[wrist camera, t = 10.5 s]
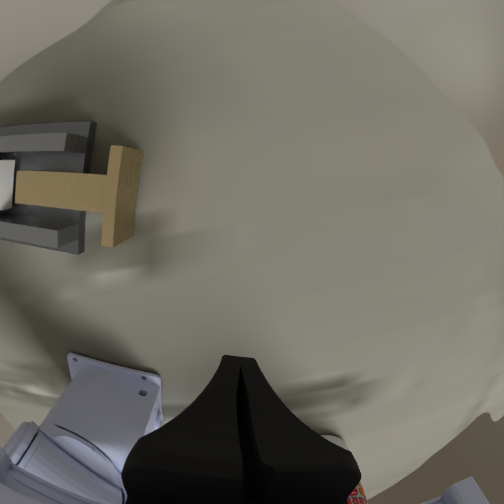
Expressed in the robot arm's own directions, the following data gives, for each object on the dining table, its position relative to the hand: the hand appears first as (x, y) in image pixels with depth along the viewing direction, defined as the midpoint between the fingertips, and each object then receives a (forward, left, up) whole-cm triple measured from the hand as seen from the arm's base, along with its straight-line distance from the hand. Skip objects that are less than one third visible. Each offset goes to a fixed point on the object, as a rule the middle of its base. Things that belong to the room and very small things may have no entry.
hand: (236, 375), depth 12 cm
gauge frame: (+18, -6, -10) cm, 22 cm away
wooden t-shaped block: (+13, -6, -10) cm, 18 cm away
